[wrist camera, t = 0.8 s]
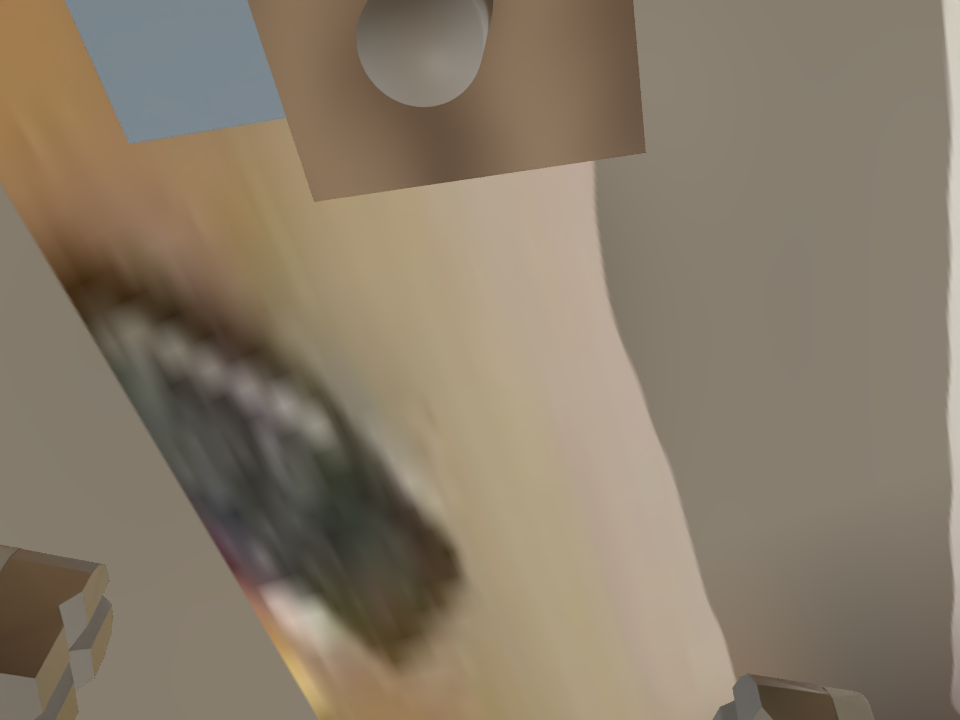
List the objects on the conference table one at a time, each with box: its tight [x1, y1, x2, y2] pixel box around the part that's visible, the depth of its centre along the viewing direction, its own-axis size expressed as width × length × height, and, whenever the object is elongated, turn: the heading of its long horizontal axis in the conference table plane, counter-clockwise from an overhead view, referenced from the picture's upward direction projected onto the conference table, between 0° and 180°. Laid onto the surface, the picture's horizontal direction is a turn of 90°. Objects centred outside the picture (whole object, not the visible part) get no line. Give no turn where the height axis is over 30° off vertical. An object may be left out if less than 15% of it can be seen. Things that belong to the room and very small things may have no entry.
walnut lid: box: [247, 0, 646, 202], centre depth 23 cm, size 11×11×5 cm
